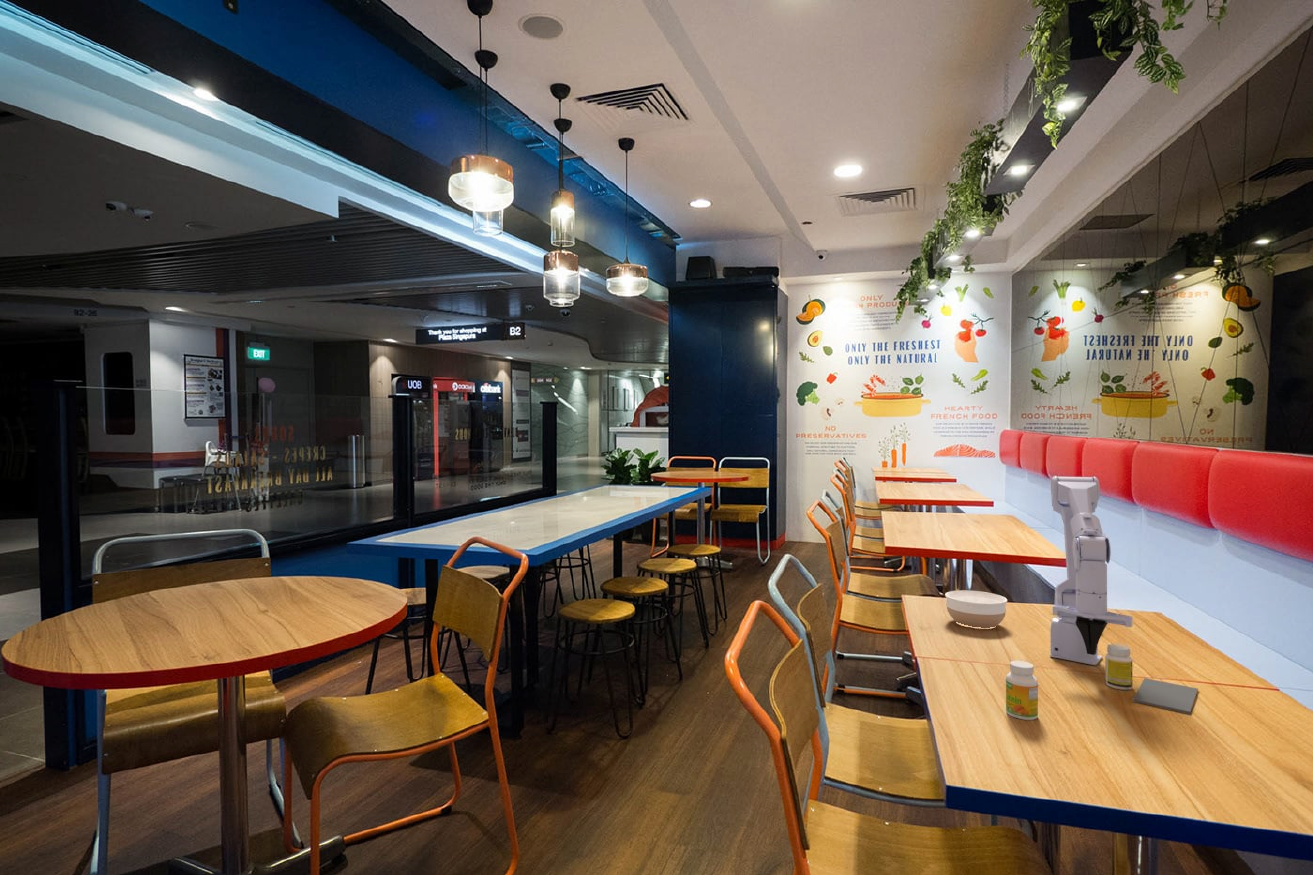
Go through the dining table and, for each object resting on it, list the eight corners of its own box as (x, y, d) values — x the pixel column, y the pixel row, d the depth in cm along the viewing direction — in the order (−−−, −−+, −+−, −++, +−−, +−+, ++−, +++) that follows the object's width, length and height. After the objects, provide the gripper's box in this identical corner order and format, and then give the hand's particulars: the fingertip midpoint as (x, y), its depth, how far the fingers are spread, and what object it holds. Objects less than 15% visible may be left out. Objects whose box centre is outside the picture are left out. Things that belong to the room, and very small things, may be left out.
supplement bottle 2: (1137, 691, 138) (1136, 651, 138) (1111, 689, 139) (1111, 649, 139) (1125, 683, 143) (1125, 644, 143) (1101, 681, 144) (1101, 642, 144)
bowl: (953, 631, 181) (953, 602, 181) (938, 615, 197) (938, 589, 197) (1016, 633, 179) (1016, 604, 179) (996, 618, 194) (996, 591, 194)
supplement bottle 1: (999, 711, 128) (999, 661, 128) (1019, 707, 130) (1018, 657, 130) (1024, 722, 123) (1024, 670, 123) (1044, 717, 125) (1044, 666, 125)
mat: (1132, 701, 132) (1132, 699, 132) (1144, 680, 144) (1144, 677, 144) (1190, 714, 126) (1190, 711, 126) (1197, 690, 138) (1197, 688, 138)
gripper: (1048, 589, 146) (1049, 650, 146) (1128, 599, 136) (1128, 665, 136) (1056, 583, 151) (1057, 643, 151) (1134, 594, 141) (1134, 657, 141)
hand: (1091, 653), depth 144 cm, fingers closed
